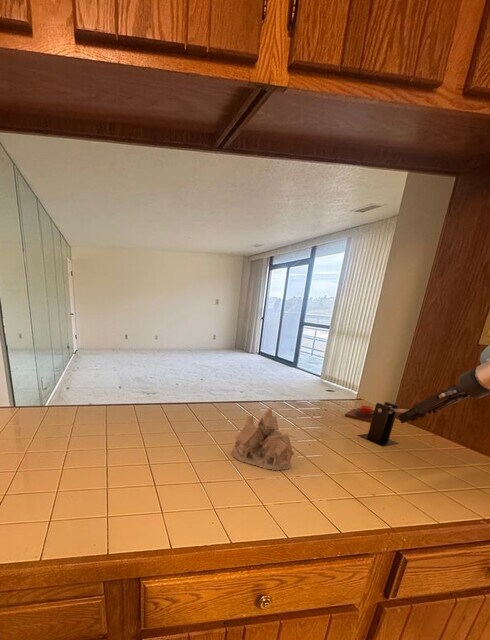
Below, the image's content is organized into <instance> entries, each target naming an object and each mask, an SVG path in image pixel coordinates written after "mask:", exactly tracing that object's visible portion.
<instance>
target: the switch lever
mask: <svg viewBox="0 0 490 640" xmlns="http://www.w3.org/2000/svg"><path fill="white" fill-rule="evenodd" d="M389 407H390V410H389V414H390V413H392V412H397V413H400V414H402V413H404V412H406V411H408V410H410V409H408V408H407V409H406V408H398V409H395V408H393V406H389ZM428 415H429V414H428V411H425V412H423V413H422V414H421V415H419V416H417V418H419V419H424V418H425V417H427V416H428Z"/></svg>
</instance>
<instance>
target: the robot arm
mask: <svg viewBox="0 0 490 640" xmlns="http://www.w3.org/2000/svg"><path fill="white" fill-rule="evenodd" d="M479 362H480V365H478V366H476V368H475V367H474V368H472V369H470V370H468V371H466V372H464V373H462V374H461V375H459V378H458V384H457V385H456V384H454V385H451V386H448V388H447V389H445V390H444V389H441V390H439V391H438V392H436V393H435V394H433V395H431V396H429V397H427V398H425V399H423V400H422V401H420V402H417V403H414V404H413V406H412V408H410V409H409V410H408V411H406V412H404V413H400V414H397V418H398V419H399V421H400V423H401V424H405V423H407V422H408V421H410V423H413V422H415V421H417V420H418V419H420V418H417V416H419V415H421V414H422V413H423V412H425V411H428V414H427V415H430V414H431V413H433V415H436V414H437V413H439V412H438V411H442V410H443V409H445V408H447V407H449V406H451V405H454V404H456V403H459V402H460V401H462V400H465V399H467V398H469V397H471V398H473V399H481V398H484V397H486V396H489V395H490V344H489V345H487V346H486V347H485V348H484V349H483V350H482V352H481V354H480V357H479Z"/></svg>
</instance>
